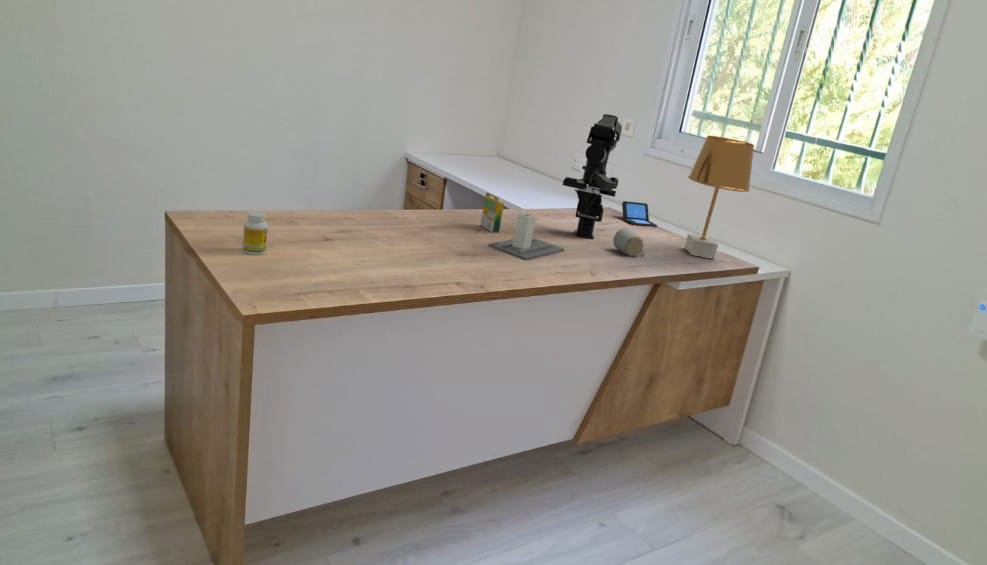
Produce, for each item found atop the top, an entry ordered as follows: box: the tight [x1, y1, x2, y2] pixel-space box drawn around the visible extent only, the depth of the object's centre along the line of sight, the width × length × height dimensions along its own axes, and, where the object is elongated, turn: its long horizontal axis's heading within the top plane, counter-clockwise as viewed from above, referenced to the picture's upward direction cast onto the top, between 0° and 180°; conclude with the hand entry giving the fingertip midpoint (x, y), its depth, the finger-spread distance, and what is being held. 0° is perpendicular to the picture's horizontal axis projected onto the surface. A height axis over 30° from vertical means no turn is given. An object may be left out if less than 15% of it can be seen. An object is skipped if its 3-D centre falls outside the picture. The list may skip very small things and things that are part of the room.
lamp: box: [684, 135, 755, 259], centre depth 240 cm, size 21×21×41 cm
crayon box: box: [480, 191, 505, 233], centre depth 227 cm, size 7×3×12 cm, turn 34°
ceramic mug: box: [613, 227, 647, 257], centre depth 229 cm, size 11×8×8 cm
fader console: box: [487, 236, 566, 261], centre depth 214 cm, size 22×14×1 cm, turn 143°
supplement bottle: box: [242, 211, 268, 256], centre depth 167 cm, size 5×5×10 cm
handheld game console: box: [621, 200, 658, 228], centre depth 278 cm, size 12×11×7 cm
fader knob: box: [512, 212, 537, 249], centre depth 210 cm, size 4×4×10 cm
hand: (583, 213), depth 219 cm, fingers closed
